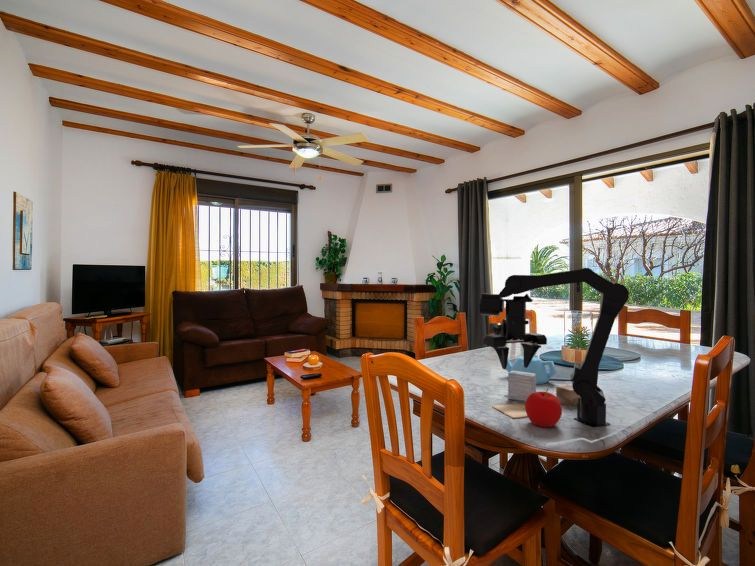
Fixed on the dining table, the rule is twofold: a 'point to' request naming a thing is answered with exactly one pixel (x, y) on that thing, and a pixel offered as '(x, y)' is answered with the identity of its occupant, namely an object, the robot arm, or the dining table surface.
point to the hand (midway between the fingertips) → (515, 368)
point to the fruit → (543, 409)
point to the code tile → (517, 400)
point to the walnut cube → (567, 395)
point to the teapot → (534, 368)
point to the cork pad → (512, 410)
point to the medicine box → (521, 385)
